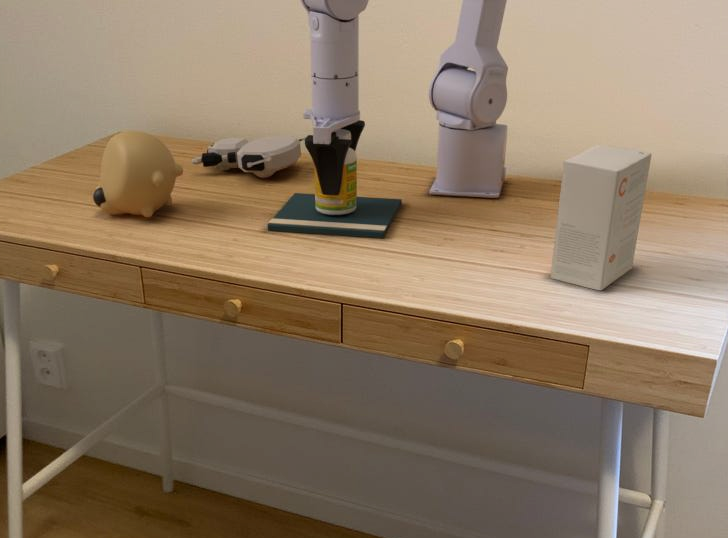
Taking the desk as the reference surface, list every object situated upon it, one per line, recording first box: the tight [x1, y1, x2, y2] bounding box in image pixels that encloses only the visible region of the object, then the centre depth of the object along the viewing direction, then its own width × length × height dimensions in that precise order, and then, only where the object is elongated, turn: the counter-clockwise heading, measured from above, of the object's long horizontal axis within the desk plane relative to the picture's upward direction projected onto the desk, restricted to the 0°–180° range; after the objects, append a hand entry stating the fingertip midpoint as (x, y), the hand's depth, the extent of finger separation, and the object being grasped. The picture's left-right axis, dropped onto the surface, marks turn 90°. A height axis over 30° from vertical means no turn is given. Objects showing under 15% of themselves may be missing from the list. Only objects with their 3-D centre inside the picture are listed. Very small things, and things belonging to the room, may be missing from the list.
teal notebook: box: [267, 192, 403, 239], centre depth 121 cm, size 15×13×1 cm
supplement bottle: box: [313, 129, 358, 215], centre depth 118 cm, size 5×5×10 cm
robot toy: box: [191, 135, 307, 179], centre depth 138 cm, size 12×4×15 cm
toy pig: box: [92, 130, 184, 218], centre depth 122 cm, size 10×12×11 cm
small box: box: [550, 143, 653, 291], centre depth 100 cm, size 8×6×13 cm
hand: (336, 187), depth 119 cm, fingers closed on supplement bottle, 5 cm apart
